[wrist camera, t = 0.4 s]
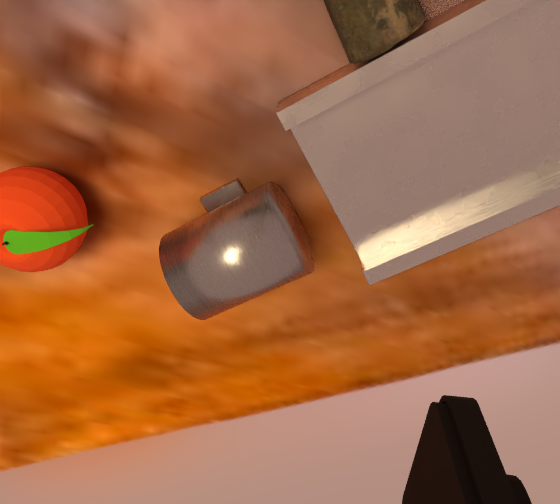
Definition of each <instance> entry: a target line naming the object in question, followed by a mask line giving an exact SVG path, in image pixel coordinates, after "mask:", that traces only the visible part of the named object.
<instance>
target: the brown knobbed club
mask: <svg viewBox="0 0 560 504" xmlns="http://www.w3.org/2000/svg"><path fill="white" fill-rule="evenodd" d="M324 2H325V5H326V8H327V10H328V13H329V15H330V18H331V20H332V22H333V25H334V27H335V29H336V31H337V33H338V36H339V38H340V40H341V42H342V45H343V47H344V50H345V52H346V54H347V57H348V59H349V61H350V63H352V64H356V63H360V62H364V61H367V60H370V59H372V58H374V57H376V56H378V55H380V54H382V53H384V52H385V51H387V50H388V49H390V48H391V47H393V46H394V45H395V44H397V43H398V42H399V41H401V40H403V39H405V38H406V37H407V36H409V35H410V34H411V33H413V32H414V31H416V30H417V29H418V28H419V27H420V26H421V25H422V24H423V22H424V20H425V17H426V13H425V12H424V11H423V9H422V7H421V5H420V3H419V1H418V0H324Z"/></svg>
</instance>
